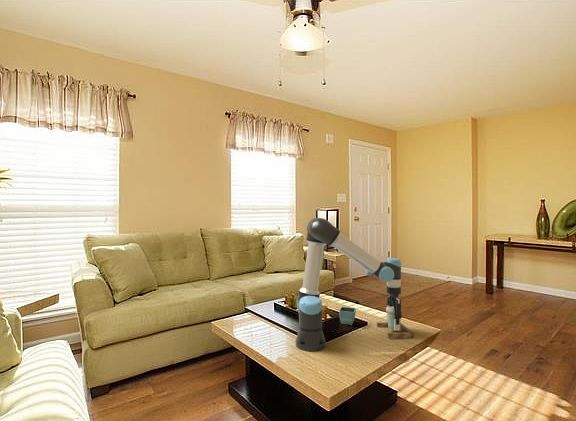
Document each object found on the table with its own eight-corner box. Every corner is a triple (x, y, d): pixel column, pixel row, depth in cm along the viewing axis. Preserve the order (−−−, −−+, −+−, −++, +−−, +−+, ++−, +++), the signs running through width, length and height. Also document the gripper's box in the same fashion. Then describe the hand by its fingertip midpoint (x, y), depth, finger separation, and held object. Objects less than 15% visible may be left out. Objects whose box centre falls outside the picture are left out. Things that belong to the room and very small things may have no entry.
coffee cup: (399, 326, 182) (399, 305, 182) (403, 331, 173) (403, 309, 174) (384, 325, 183) (384, 304, 183) (387, 331, 174) (387, 308, 174)
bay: (388, 338, 169) (388, 333, 169) (376, 326, 187) (376, 322, 187) (413, 338, 170) (413, 333, 170) (399, 326, 188) (399, 321, 188)
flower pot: (356, 322, 193) (356, 308, 193) (354, 327, 185) (354, 312, 185) (341, 321, 196) (341, 306, 196) (338, 326, 188) (338, 310, 188)
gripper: (408, 290, 168) (408, 334, 168) (393, 282, 189) (392, 321, 189) (394, 290, 168) (394, 334, 168) (380, 282, 188) (380, 321, 188)
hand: (393, 327), depth 178 cm, fingers closed on coffee cup, 8 cm apart
